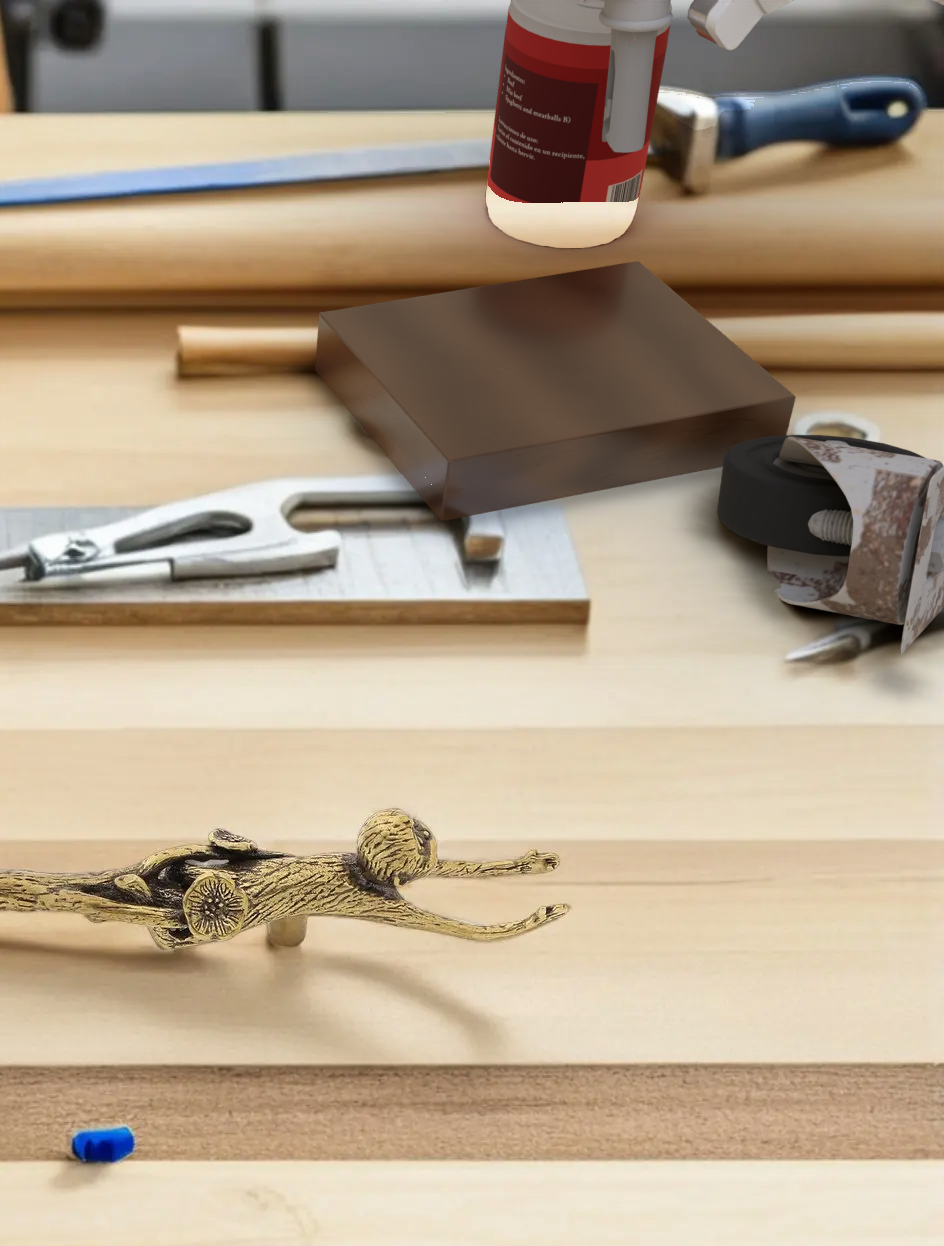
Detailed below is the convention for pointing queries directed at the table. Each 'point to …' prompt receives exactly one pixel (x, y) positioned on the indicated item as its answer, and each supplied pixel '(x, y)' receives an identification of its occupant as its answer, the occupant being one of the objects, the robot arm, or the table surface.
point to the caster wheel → (843, 524)
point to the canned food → (562, 108)
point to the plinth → (546, 387)
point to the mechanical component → (630, 68)
